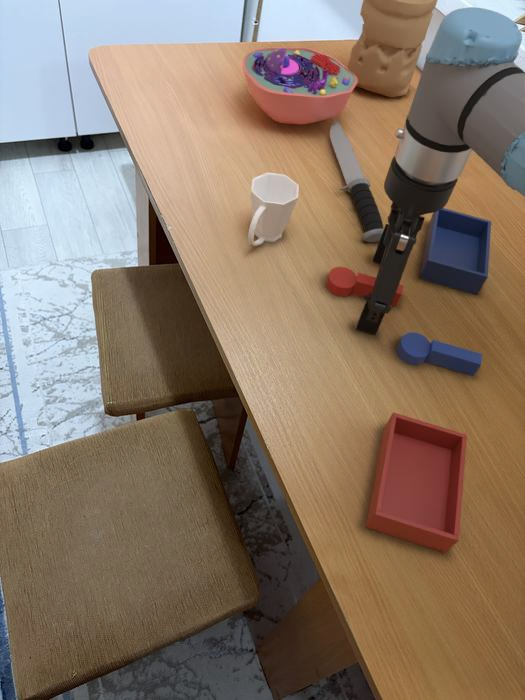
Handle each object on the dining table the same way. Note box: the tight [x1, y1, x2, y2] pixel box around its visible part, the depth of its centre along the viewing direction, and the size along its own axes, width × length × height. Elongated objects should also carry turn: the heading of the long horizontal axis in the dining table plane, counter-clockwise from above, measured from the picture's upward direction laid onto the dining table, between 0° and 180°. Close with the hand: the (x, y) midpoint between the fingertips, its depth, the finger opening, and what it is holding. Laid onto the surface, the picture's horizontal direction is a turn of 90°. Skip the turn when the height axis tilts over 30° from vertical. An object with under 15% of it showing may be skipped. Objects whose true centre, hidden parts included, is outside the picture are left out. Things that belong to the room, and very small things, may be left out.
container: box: [347, 0, 438, 98], centre depth 108 cm, size 13×13×18 cm
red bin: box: [365, 412, 468, 553], centre depth 63 cm, size 12×8×4 cm
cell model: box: [242, 46, 358, 125], centre depth 102 cm, size 17×20×11 cm
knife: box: [329, 119, 384, 243], centre depth 95 cm, size 29×3×5 cm
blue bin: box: [418, 207, 492, 295], centre depth 86 cm, size 12×8×4 cm
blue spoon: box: [396, 331, 483, 377], centre depth 75 cm, size 10×4×3 cm, turn 74°
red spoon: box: [325, 266, 404, 307], centre depth 81 cm, size 10×4×3 cm, turn 74°
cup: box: [247, 171, 300, 247], centre depth 83 cm, size 7×10×8 cm
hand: (374, 294), depth 81 cm, fingers open, 13 cm apart
